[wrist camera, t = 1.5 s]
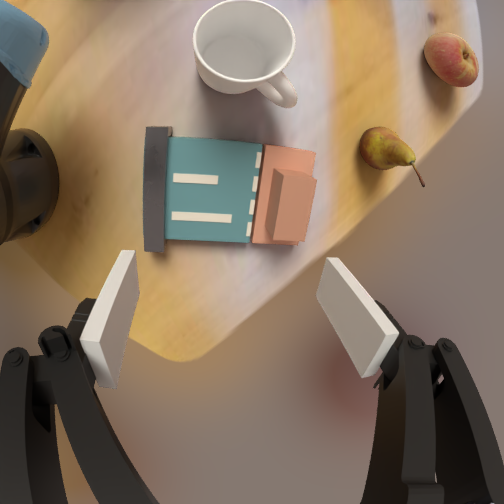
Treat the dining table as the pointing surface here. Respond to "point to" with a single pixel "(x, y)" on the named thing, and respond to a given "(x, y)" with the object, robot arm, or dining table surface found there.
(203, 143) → the striped teal tile
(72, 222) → the dining table surface
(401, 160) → the fruit
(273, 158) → the stub
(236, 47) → the mug
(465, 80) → the apple
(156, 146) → the grey end rail
